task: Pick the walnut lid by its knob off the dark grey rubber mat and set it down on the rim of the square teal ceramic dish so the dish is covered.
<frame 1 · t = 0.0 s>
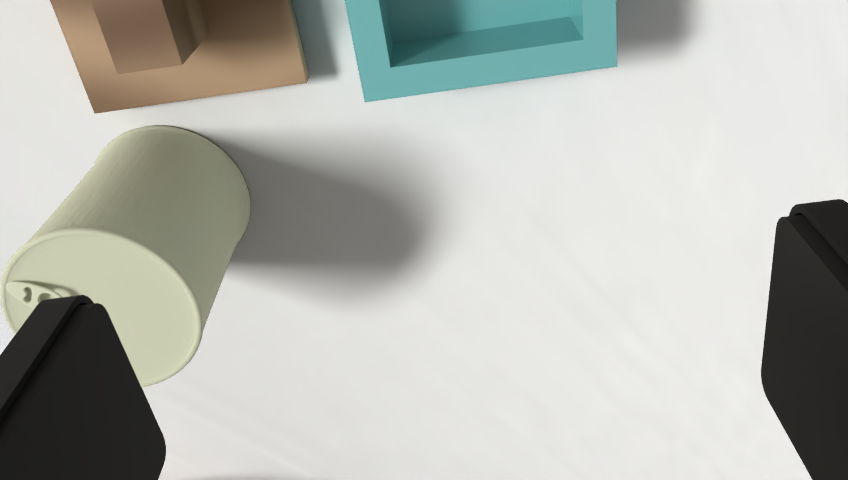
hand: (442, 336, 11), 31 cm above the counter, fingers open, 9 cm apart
can: (173, 196, 45), on the counter
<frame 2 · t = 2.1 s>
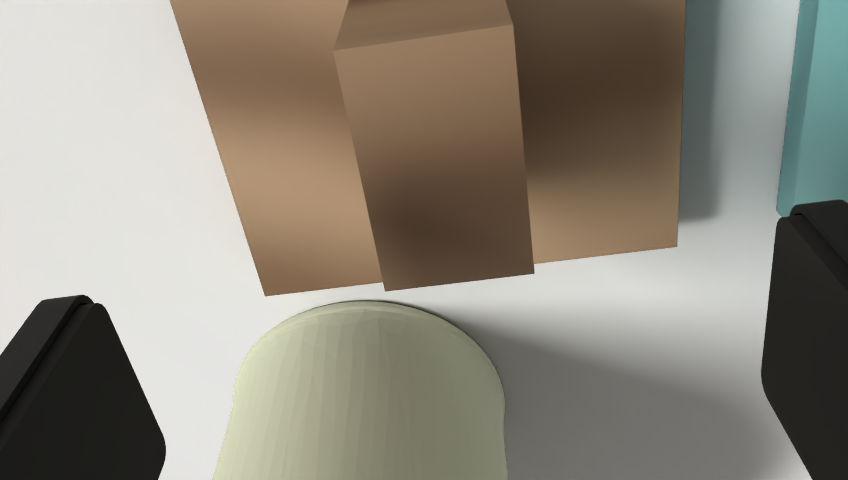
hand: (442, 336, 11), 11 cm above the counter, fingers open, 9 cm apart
can: (370, 402, 26), on the counter
lid: (437, 60, 19), point 1 cm above the counter, touching mat
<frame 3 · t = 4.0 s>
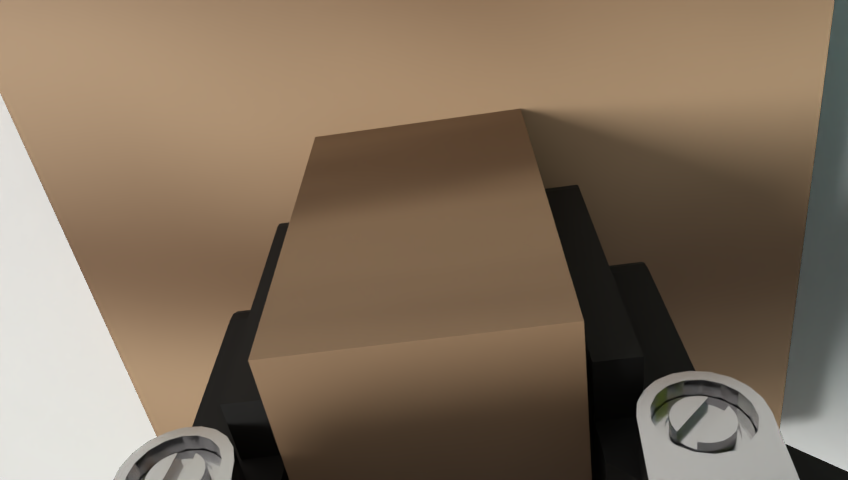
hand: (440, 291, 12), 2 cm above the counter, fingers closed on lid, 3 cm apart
lid: (439, 234, 13), point 1 cm above the counter, touching gripper, mat
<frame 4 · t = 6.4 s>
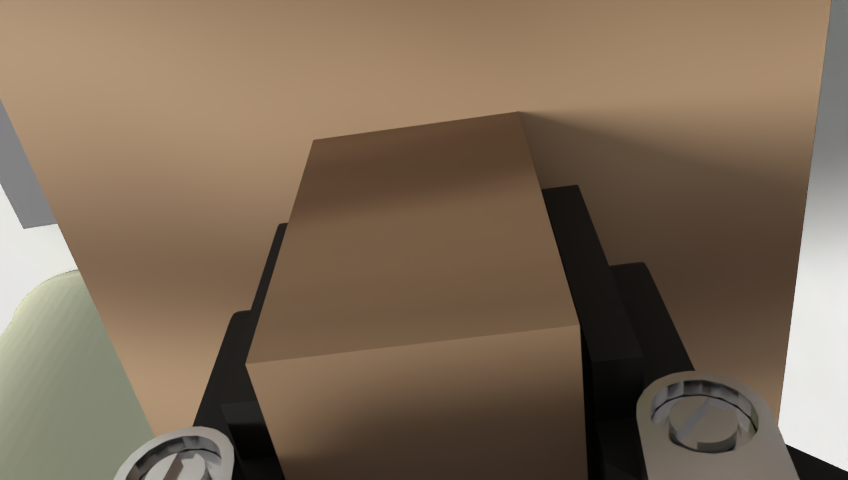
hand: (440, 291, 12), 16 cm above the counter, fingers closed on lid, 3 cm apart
mat: (103, 76, 26), on the counter
can: (124, 353, 33), on the counter
lid: (437, 236, 13), point 14 cm above the counter, touching gripper
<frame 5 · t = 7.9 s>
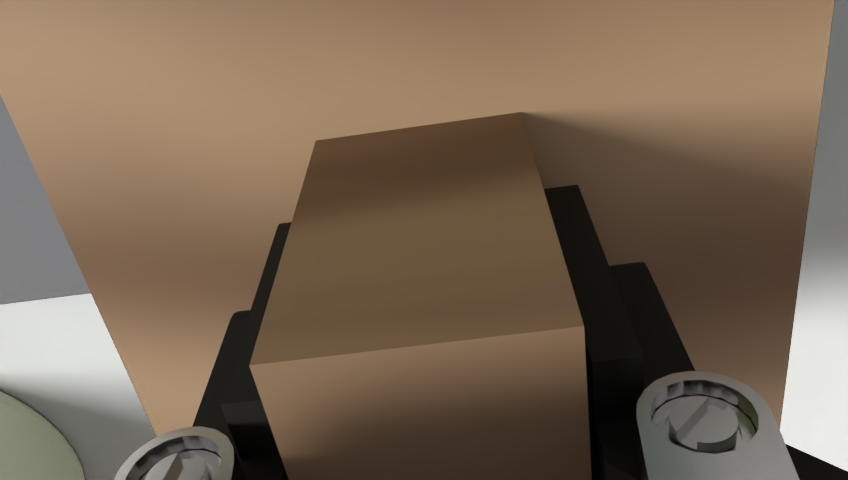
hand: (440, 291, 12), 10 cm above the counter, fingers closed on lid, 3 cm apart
lid: (439, 237, 13), point 8 cm above the counter, touching gripper
when the fingers open (8 cm above the counter, at t = 8.9 s): lid drops 1 cm, resting on dish.
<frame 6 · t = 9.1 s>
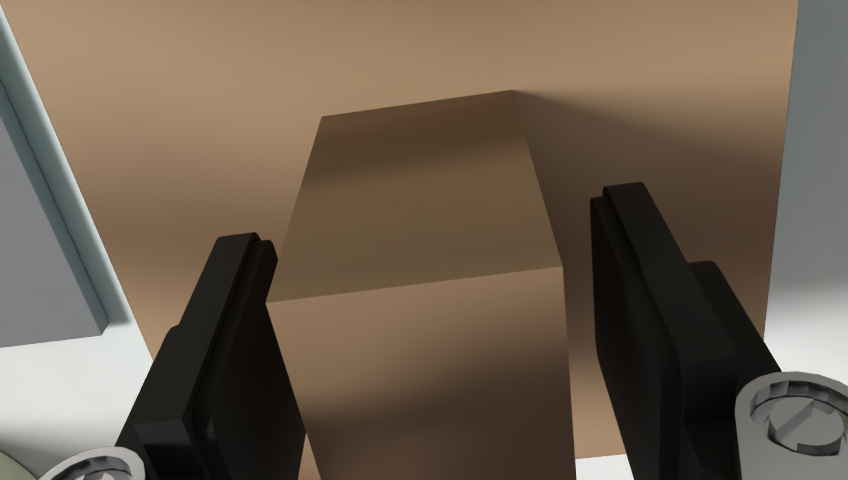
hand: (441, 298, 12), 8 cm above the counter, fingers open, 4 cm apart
lid: (436, 211, 14), point 5 cm above the counter, touching dish
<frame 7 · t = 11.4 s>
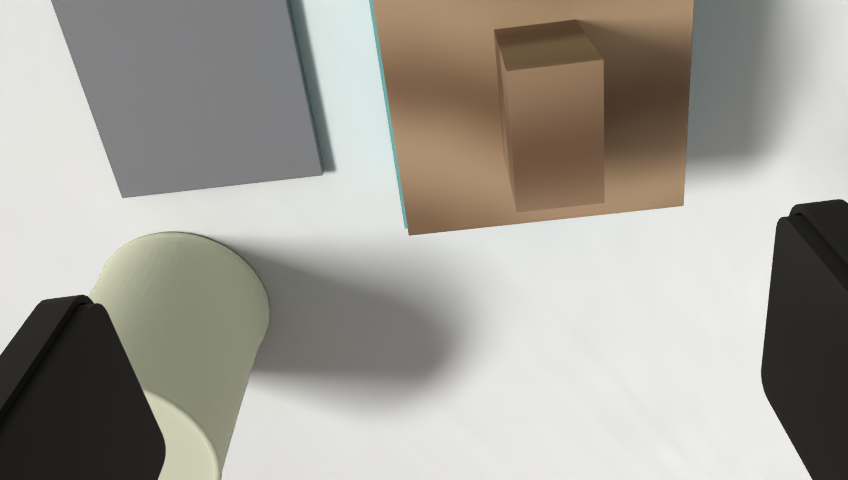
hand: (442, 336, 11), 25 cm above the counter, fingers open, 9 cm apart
mat: (196, 84, 35), on the counter
can: (186, 302, 42), on the counter
lid: (534, 81, 30), point 5 cm above the counter, touching dish
dish: (521, 44, 34), on the counter
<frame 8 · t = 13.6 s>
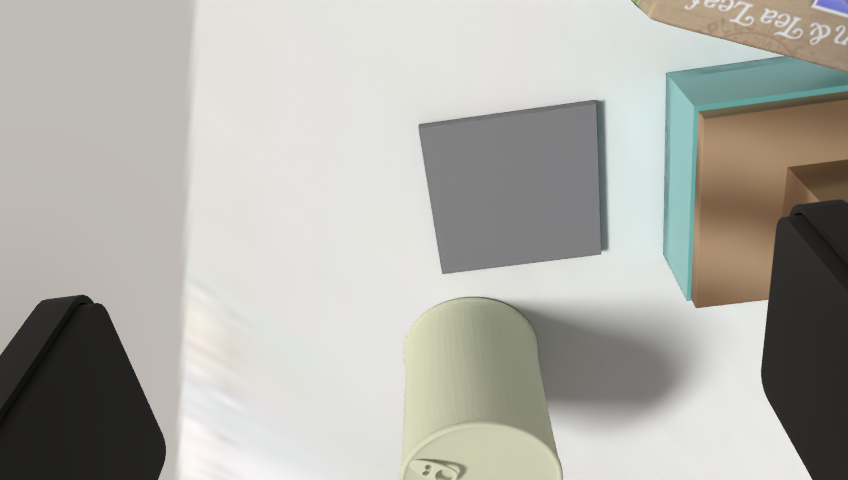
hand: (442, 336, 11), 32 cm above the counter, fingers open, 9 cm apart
mat: (513, 189, 46), on the counter
can: (470, 349, 52), on the counter
lid: (804, 197, 40), point 5 cm above the counter, touching dish
dish: (768, 156, 45), on the counter
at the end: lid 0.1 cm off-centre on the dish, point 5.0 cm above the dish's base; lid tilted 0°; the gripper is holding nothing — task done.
